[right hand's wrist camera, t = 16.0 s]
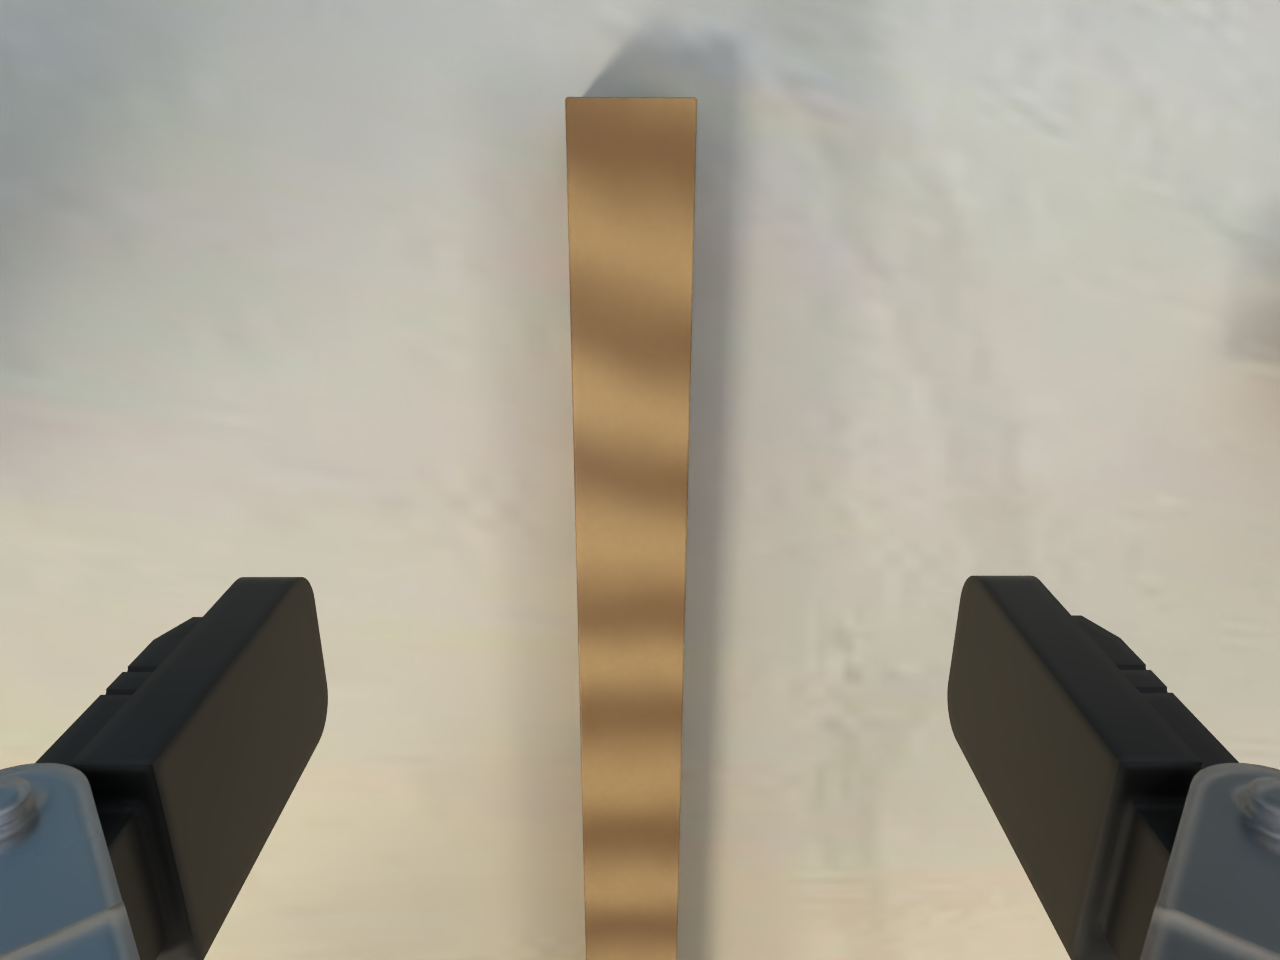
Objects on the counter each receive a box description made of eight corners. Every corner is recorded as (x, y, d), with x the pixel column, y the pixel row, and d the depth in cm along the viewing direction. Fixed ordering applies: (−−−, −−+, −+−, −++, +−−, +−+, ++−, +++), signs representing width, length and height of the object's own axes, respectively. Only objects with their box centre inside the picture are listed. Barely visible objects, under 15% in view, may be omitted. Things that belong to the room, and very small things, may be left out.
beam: (576, 102, 38) (565, 96, 33) (688, 103, 39) (697, 97, 33) (597, 1161, 63) (593, 1263, 57) (666, 1161, 63) (669, 1263, 57)
